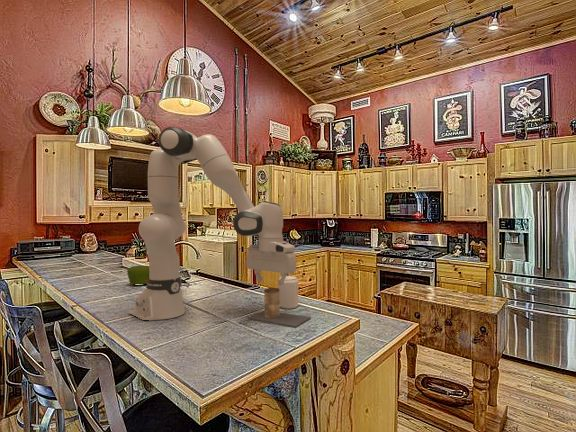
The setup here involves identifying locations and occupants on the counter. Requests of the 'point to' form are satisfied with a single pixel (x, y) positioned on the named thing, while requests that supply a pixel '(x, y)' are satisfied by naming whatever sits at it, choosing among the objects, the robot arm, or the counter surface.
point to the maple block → (272, 302)
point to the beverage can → (288, 293)
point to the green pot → (138, 274)
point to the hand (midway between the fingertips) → (270, 283)
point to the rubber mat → (281, 319)
